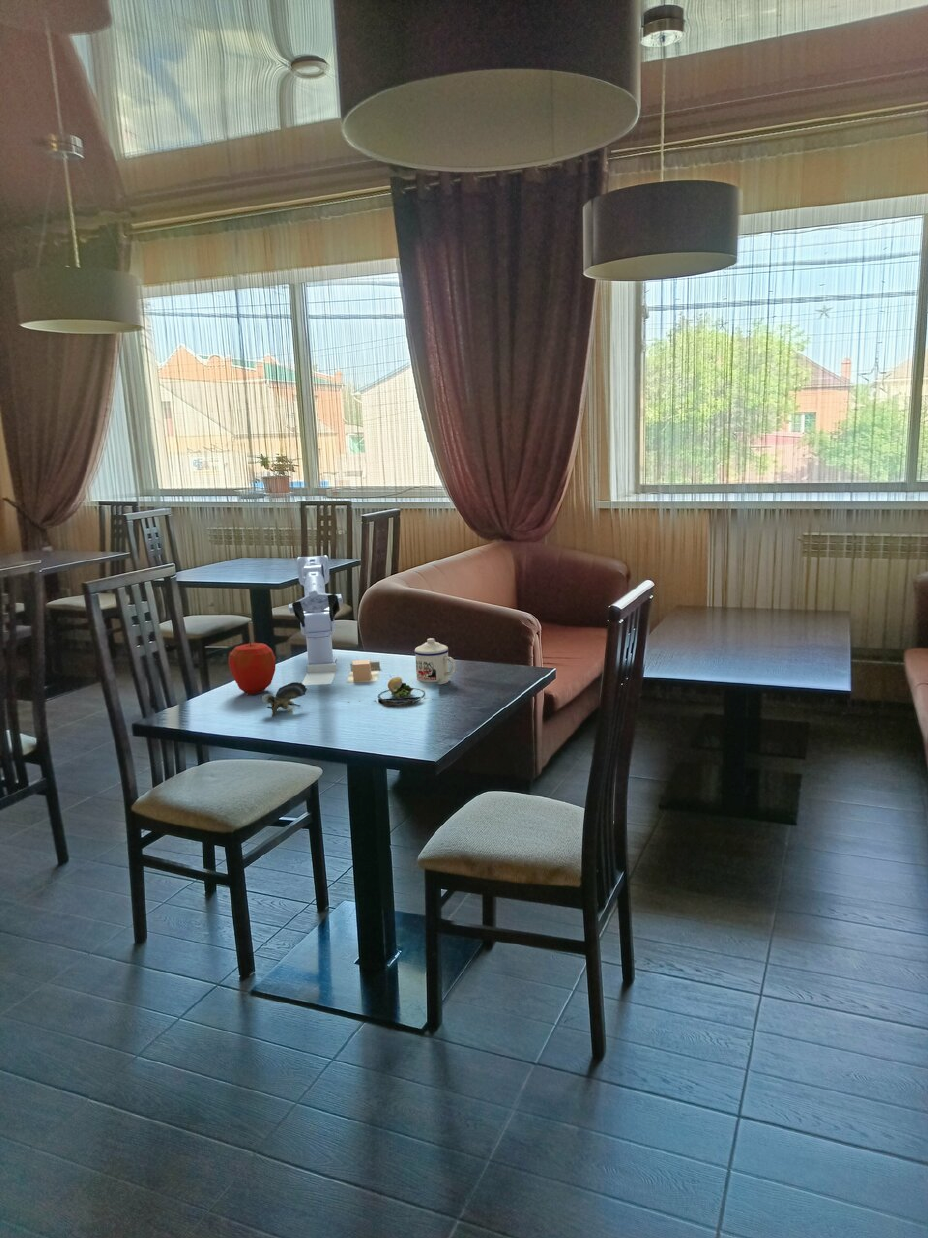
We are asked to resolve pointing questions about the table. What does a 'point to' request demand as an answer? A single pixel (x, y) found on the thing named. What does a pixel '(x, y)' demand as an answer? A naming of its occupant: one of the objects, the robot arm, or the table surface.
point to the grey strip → (320, 674)
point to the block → (361, 670)
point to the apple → (252, 667)
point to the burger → (398, 694)
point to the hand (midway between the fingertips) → (317, 621)
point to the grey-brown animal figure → (285, 697)
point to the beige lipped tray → (374, 671)
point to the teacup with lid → (433, 662)
